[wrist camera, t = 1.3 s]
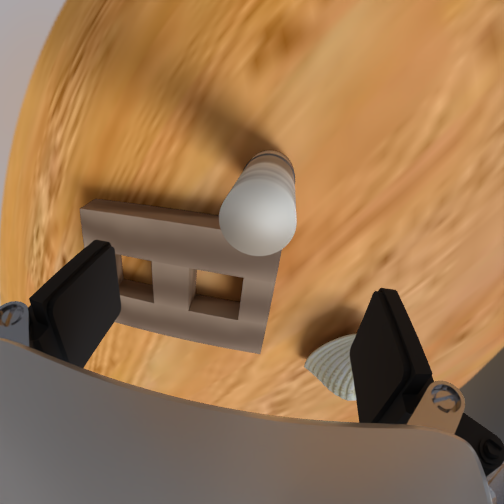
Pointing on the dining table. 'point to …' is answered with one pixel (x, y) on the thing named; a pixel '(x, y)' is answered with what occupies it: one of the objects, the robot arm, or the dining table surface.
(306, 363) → the seashell
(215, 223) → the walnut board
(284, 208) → the grey domed cylinder
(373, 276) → the dining table surface
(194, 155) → the dining table surface
